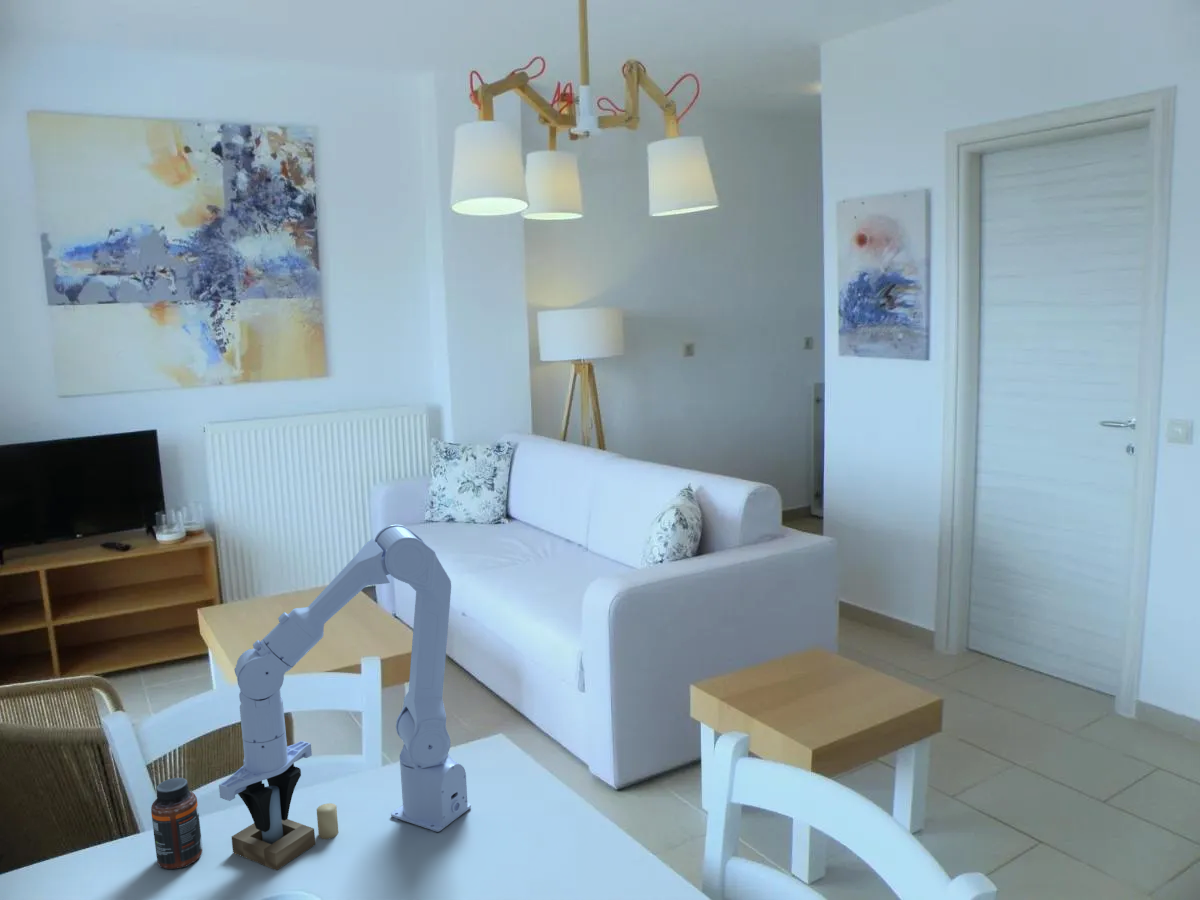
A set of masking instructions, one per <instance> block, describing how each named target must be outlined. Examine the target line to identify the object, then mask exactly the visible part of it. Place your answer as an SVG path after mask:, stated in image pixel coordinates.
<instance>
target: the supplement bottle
mask: <svg viewBox="0 0 1200 900" xmlns="http://www.w3.org/2000/svg"><path fill="white" fill-rule="evenodd" d="M155 790H156V799H155V800H154V801H153V803H152V804H151V807H150V809H151V812H150V813H151V820H152V822H151V823H152V830H153V836H154V837H153V839H154V845H155V846H154V847H155V853H156V854H155V855H156V859H157V860H156V861H157V862H156V863H157V864H158V866H159V867H161V868H162V869H165V870H166V869H167V870H169V869H170V870H174V869H182V868H184V867H187V866H190V865H191V864H193V863H194V862H196V861H197V860H198V859H199V858H200V857H201V856H202V855H203V840H202V831H201V824H200V823H201V822H200V821H201V820H200V813H199V807H198V798H197V795H196V794H195V793H194V792H192V791H191V790H189V783H188V780H187V779H186V778H184V777H172V778H170V779H166V780H164V781H162V782H160V783H159V784H158V785H157V786H156V789H155Z"/></svg>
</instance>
